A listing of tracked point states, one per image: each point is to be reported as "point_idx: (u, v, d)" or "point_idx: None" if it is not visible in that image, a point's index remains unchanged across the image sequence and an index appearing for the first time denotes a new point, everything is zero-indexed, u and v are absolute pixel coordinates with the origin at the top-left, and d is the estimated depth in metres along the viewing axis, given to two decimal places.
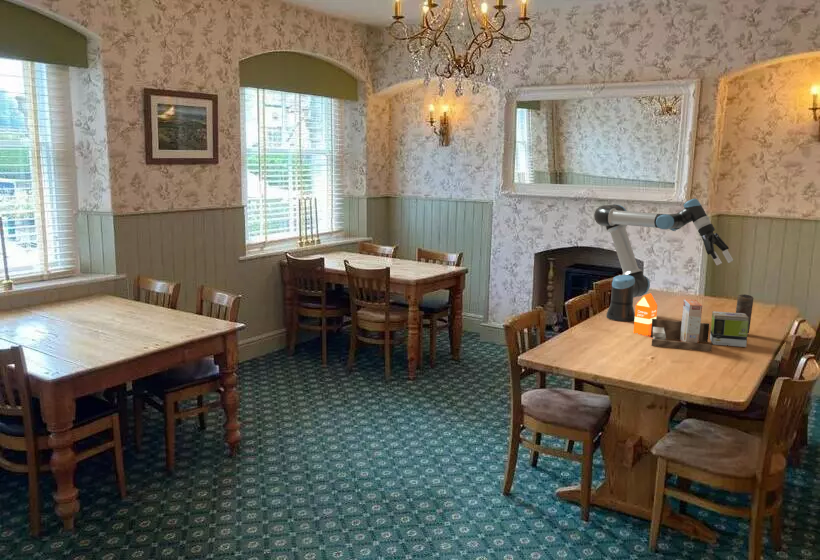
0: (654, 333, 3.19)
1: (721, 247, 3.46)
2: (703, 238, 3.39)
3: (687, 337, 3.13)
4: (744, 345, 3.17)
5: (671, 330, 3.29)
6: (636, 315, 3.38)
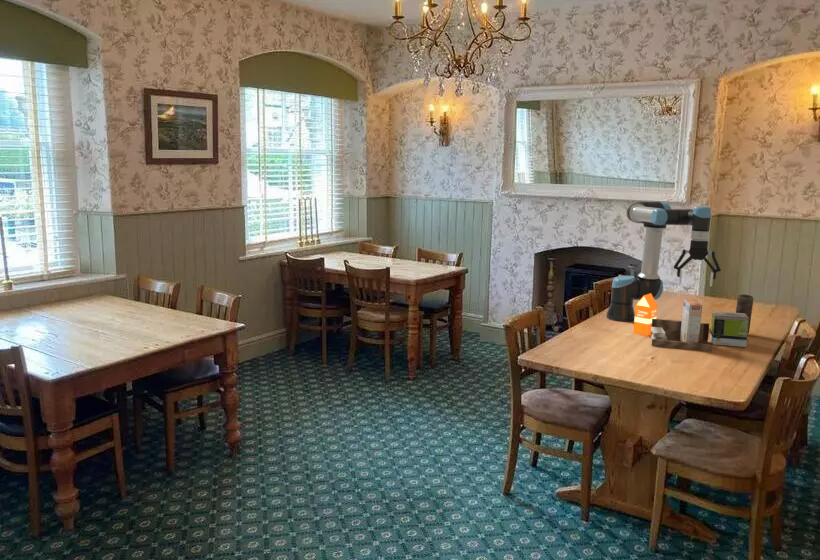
0: (655, 333, 3.18)
1: (710, 267, 3.13)
2: (682, 252, 3.15)
3: (687, 337, 3.13)
4: (744, 345, 3.17)
5: (671, 330, 3.29)
6: (636, 315, 3.38)
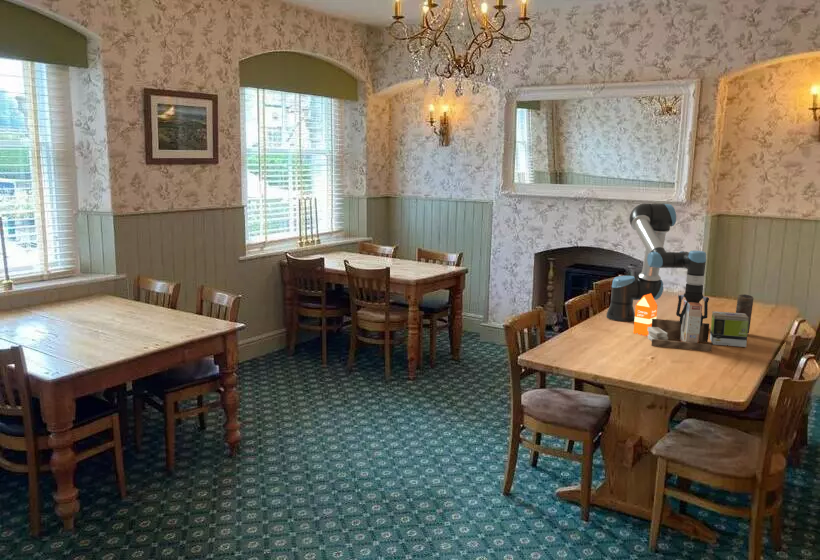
0: (657, 334, 3.18)
1: None
2: (678, 298, 3.19)
3: (687, 337, 3.13)
4: (744, 345, 3.17)
5: (671, 330, 3.29)
6: (636, 315, 3.38)
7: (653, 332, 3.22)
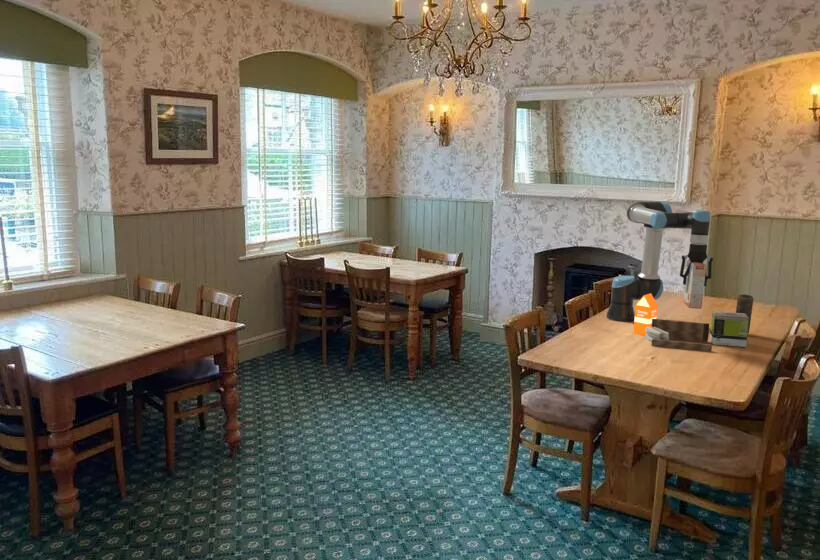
0: (659, 334, 3.17)
1: None
2: None
3: (691, 297, 3.10)
4: (744, 345, 3.17)
5: (671, 330, 3.29)
6: (636, 315, 3.38)
7: (654, 332, 3.21)
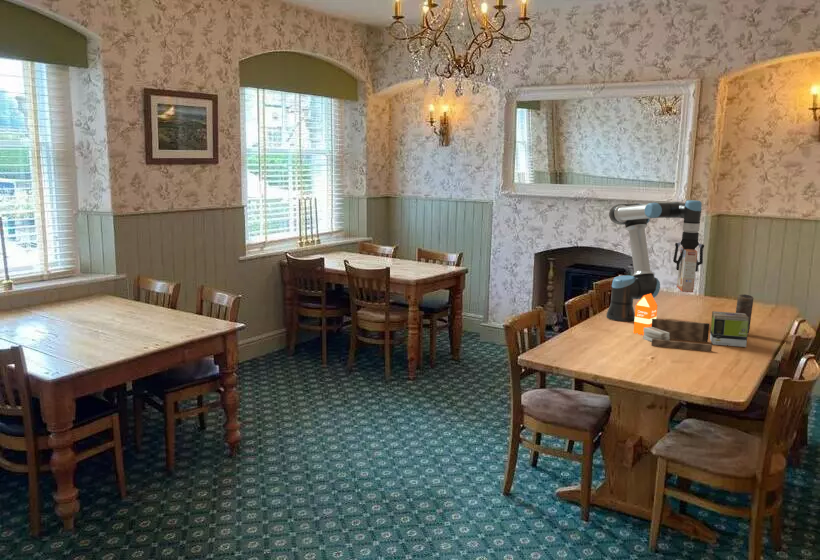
0: (661, 334, 3.17)
1: None
2: (675, 245, 3.38)
3: (683, 281, 3.32)
4: (744, 345, 3.17)
5: (671, 330, 3.29)
6: (636, 315, 3.38)
7: (654, 333, 3.21)
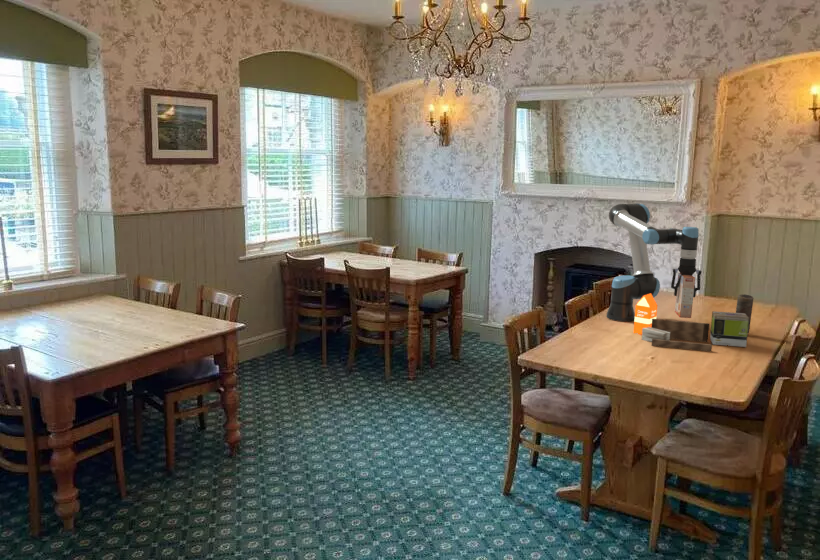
0: (664, 334, 3.17)
1: None
2: (673, 271, 3.40)
3: (681, 307, 3.35)
4: (744, 345, 3.17)
5: (671, 330, 3.29)
6: (636, 315, 3.38)
7: (655, 333, 3.20)
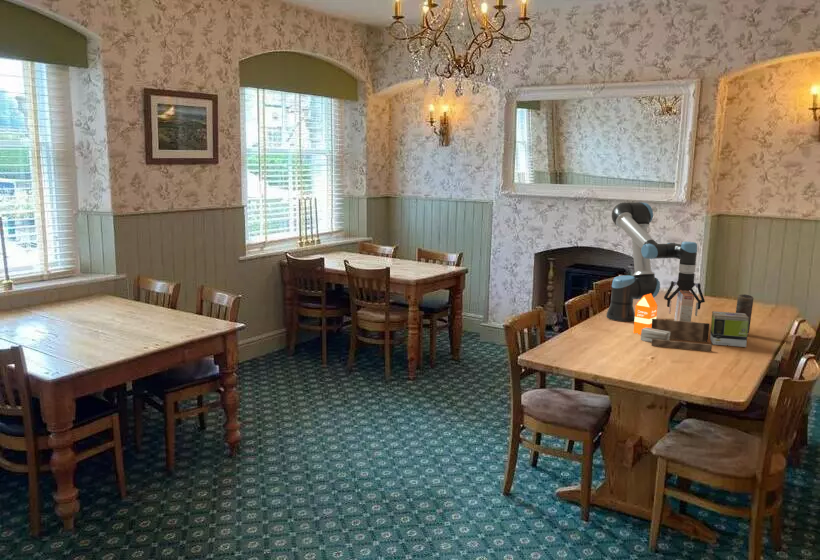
0: (666, 334, 3.17)
1: None
2: (671, 283, 3.42)
3: None
4: (744, 345, 3.17)
5: (671, 330, 3.29)
6: (636, 315, 3.38)
7: (657, 333, 3.20)
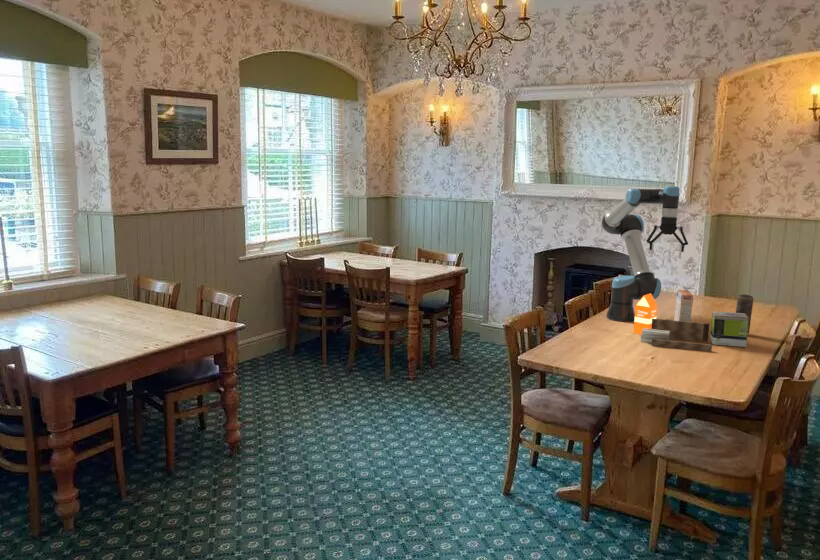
0: (668, 334, 3.18)
1: (679, 241, 3.46)
2: (654, 227, 3.49)
3: None
4: (744, 345, 3.17)
5: (671, 330, 3.29)
6: (636, 315, 3.38)
7: (659, 334, 3.19)
